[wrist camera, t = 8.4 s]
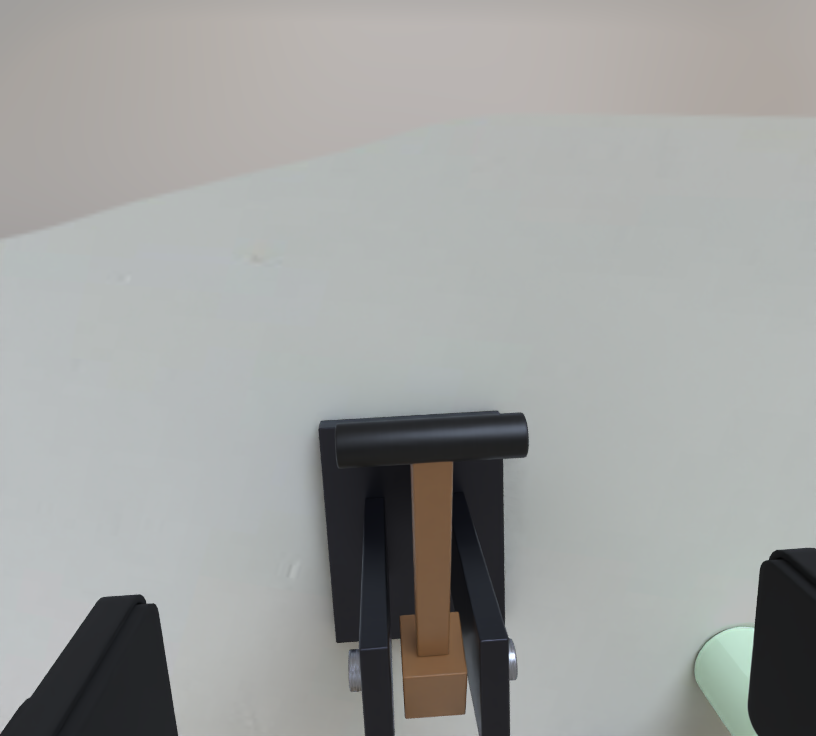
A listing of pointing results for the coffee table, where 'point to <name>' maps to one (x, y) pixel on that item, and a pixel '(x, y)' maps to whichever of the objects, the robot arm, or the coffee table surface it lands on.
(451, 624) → the lever
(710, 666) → the candle
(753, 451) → the coffee table surface
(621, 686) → the coffee table surface
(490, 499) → the bracket
